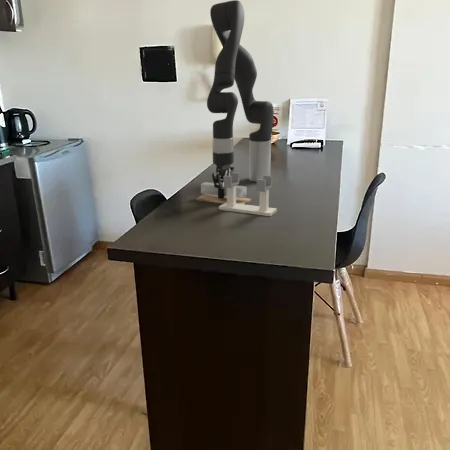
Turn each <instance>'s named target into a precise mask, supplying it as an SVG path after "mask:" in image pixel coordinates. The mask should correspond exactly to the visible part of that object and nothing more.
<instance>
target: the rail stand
mask: <svg viewBox="0 0 450 450" xmlns="http://www.w3.org/2000/svg"><path fill="white" fill-rule="evenodd" d="M223 183H224V187H226V188H227V202H226V203H224V204H223V203H221V205H219V206H218V210H221V211H227V212H236V213H244V214H250V215H251V214H252V215H259V216H265V217H272V216H273V215H274V214H275V213H276V212H277V211H278V208H276V207H269V206H270V205H269V204H270V203H269V202H270V189H272V188H273V175H270V176H267V175H264V176H263V179H257V182H256V191H257V192H259V205H253V204H252V205H251V204H237V203H236V185H237V186H239V184H240V172H237V171H236V172H235V171H234V172H231V176H223Z"/></svg>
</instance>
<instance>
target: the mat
mask: <svg viewBox="0 0 450 450" xmlns="http://www.w3.org/2000/svg"><path fill="white" fill-rule="evenodd" d="M195 200H196V201H201V202H207V203H216V204H224V203H226V202H227V196H224V198H223V199H220V198H218V195H211V194H202V195H200V196H197V197H196V198H195ZM251 201H252V198H249V197H244V198H236V203H237V204H245V205H248V203H249V202H251Z"/></svg>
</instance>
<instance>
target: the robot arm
mask: <svg viewBox="0 0 450 450" xmlns="http://www.w3.org/2000/svg"><path fill="white" fill-rule="evenodd" d="M209 12H210V21H211V24H212V26H213V29H214V31H215V33H216V36H217V37H218V40H219V42H220V44H221V47H222V48H221V50H220V52H219V53H218V55H217V57H216V60H215V63H214V64H215V65H214V76H213V83H212V85H211V88H210V91H209V94H208V96H207V100H206V107H207V109H208V111H209V112H210V113H212V114H226V116H225V118H222V119H218V120H215V121H213V123H212V144H211V145H212V147H211V148H212V163H213V165H216V169H215V172H212V174H211V177H212V181H213V182H212V183H214V187H215V188H218V198H220V199H223V198H224V183H223V176H231V172H235V168H234V167H235V166H231V165H232V164H234V160H235V159H234V158H235V157H234V156H235V155H234V154H235V153H234V148H235V147H234V146H235V145H234V131H233V129H234V119H235V115H236V112H237V108H238V105H239V99H238V96H237V94H236V93H235V92H232V91H228V92H227V91H223V90H226V89H229V88H232V87H233V86H234V84H236V87H237V90H238V93H239V97H240V100H241V103H242V109H243V111H244V116H245V118H246V120H247V122H249V123H251V124H255V125H256V124H259V125H260V126H259V128H258V129H257V130H256V131H253V132H250V133H249V138H248V139H249V141H248V145H249V146H248V148H249V149H248V156H249V157H248V158H249V159H248V180H249V181H250V182H255V183H257V179H263V176H264V175H267V176H271V160H272V159H271V157H272V155H271V154H272V152H271V151H272V134H273V125H274V106H273V104H272V102H271V101H267V100H266V101H265V100H256V99H255V97H254V94H253V89H254V86H255V83H256V81H257V77H258V76H257V75H258V73H257V72H258V71H257V68H256V64H255V61H254V58H253V56H252V55H251V53H250V52H249V51H248V50H247V49H246V48H245V47H243V45H241V44H240V42H241V40H242V39H241V38H242V36H243V35H242V34H243V30H244V24H245V9H244V6H243V4H242V2H241V1H239V0H228V1H224V2H223V1H222V2H220V3H215V4H213V5H212V6H211V7H210V11H209Z"/></svg>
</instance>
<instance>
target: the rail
mask: <svg viewBox="0 0 450 450" xmlns="http://www.w3.org/2000/svg"><path fill="white" fill-rule="evenodd" d="M247 190H248V189H247V186H246V185H245V186H244V185H236V198H247V196H248V195H247ZM200 194H202V195H204V194H211V195H218V188H215V187H214V182H207V181H204V182H203V183H200ZM224 196H227V188H226V187H224Z"/></svg>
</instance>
